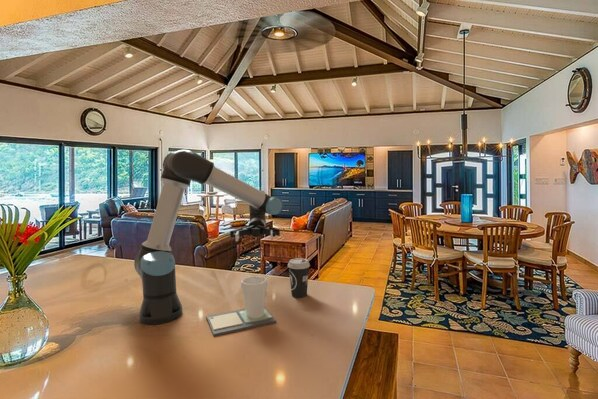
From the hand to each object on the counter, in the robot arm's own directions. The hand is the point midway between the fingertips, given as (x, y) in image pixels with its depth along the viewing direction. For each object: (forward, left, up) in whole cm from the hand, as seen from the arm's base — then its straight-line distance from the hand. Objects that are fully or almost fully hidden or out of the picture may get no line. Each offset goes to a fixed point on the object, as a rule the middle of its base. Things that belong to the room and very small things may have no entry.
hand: (254, 237), depth 134 cm
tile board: (-9, -9, -28) cm, 31 cm away
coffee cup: (+20, +3, -28) cm, 35 cm away
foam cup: (-3, -9, -27) cm, 29 cm away
